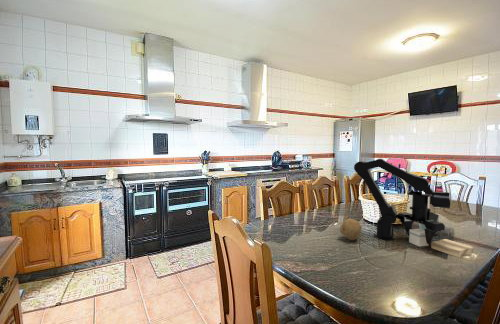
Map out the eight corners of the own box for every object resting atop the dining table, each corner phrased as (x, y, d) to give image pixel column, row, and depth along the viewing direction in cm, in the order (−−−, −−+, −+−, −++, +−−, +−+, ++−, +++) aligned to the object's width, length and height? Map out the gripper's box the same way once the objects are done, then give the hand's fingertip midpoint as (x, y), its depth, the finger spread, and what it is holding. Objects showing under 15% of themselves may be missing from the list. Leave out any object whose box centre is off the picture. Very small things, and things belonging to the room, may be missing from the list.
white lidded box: (419, 246, 105) (419, 233, 105) (408, 242, 110) (409, 229, 110) (428, 245, 106) (429, 232, 106) (418, 241, 111) (418, 228, 111)
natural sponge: (339, 241, 110) (340, 220, 110) (340, 235, 118) (340, 215, 118) (361, 244, 107) (361, 222, 106) (360, 237, 115) (360, 217, 115)
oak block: (459, 258, 94) (459, 251, 94) (431, 249, 103) (431, 242, 103) (473, 254, 98) (473, 247, 98) (445, 245, 107) (445, 238, 107)
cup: (441, 236, 117) (442, 216, 116) (423, 235, 118) (424, 215, 118) (432, 231, 125) (433, 212, 124) (415, 230, 126) (416, 211, 126)
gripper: (456, 209, 100) (454, 246, 101) (415, 200, 118) (414, 231, 119) (434, 211, 97) (433, 248, 98) (396, 201, 116) (395, 233, 116)
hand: (418, 239), depth 108 cm, fingers open, 9 cm apart
